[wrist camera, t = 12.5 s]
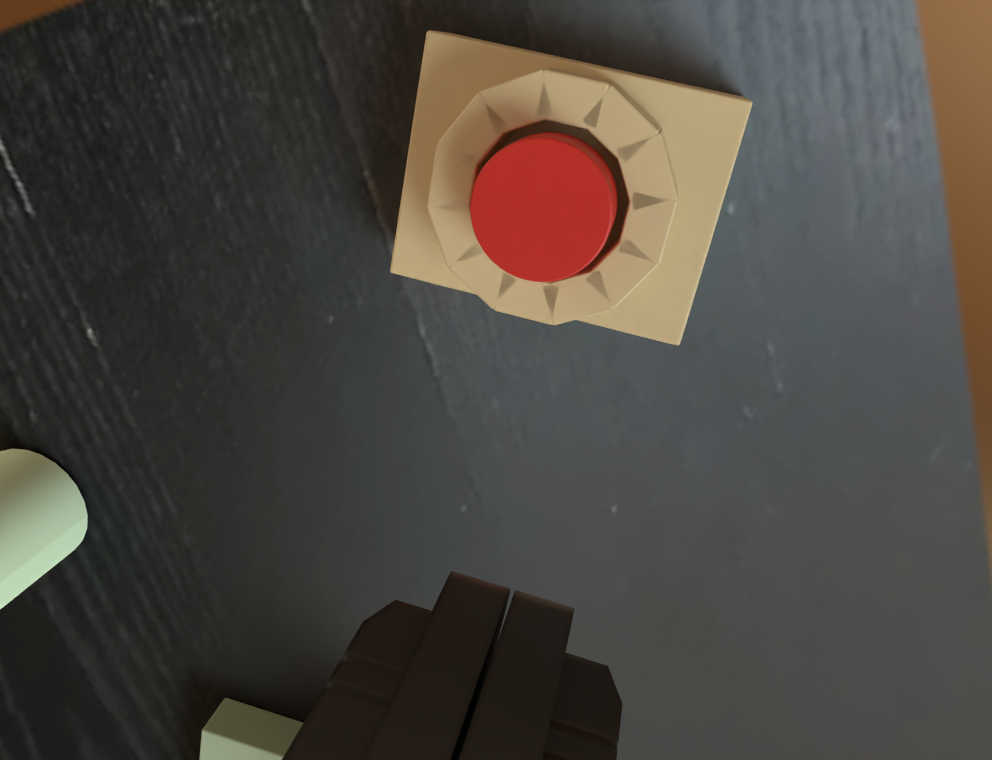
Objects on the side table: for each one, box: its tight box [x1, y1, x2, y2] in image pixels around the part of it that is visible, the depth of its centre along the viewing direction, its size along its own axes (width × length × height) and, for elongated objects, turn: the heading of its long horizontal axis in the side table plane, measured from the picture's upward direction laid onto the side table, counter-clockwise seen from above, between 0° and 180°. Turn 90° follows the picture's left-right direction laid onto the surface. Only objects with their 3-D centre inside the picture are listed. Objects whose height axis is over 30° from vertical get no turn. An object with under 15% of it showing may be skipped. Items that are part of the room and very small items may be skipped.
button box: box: [390, 30, 752, 345], centre depth 24 cm, size 9×7×4 cm
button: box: [470, 132, 618, 282], centre depth 22 cm, size 4×4×2 cm
